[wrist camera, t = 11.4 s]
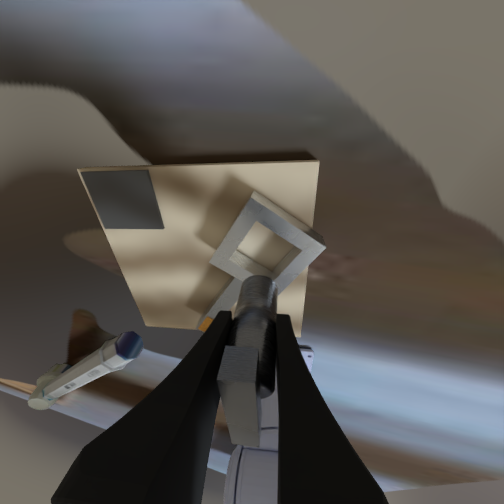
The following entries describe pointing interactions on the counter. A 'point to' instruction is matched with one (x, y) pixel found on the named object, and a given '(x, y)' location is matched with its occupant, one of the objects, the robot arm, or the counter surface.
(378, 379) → the counter surface
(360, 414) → the counter surface
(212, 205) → the workboard
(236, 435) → the hammer
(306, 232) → the hollow square frame
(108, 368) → the pale grey bent bar
